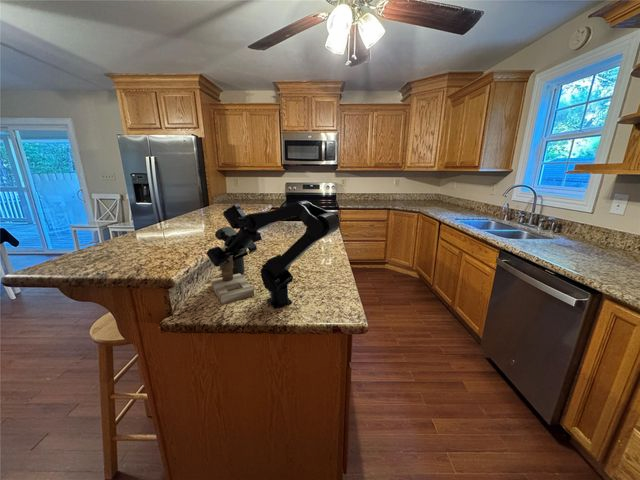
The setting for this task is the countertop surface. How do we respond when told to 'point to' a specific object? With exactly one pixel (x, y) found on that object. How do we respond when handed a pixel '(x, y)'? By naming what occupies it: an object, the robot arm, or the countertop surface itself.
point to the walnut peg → (227, 269)
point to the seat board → (232, 288)
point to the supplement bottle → (238, 266)
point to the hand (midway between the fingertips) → (223, 262)
